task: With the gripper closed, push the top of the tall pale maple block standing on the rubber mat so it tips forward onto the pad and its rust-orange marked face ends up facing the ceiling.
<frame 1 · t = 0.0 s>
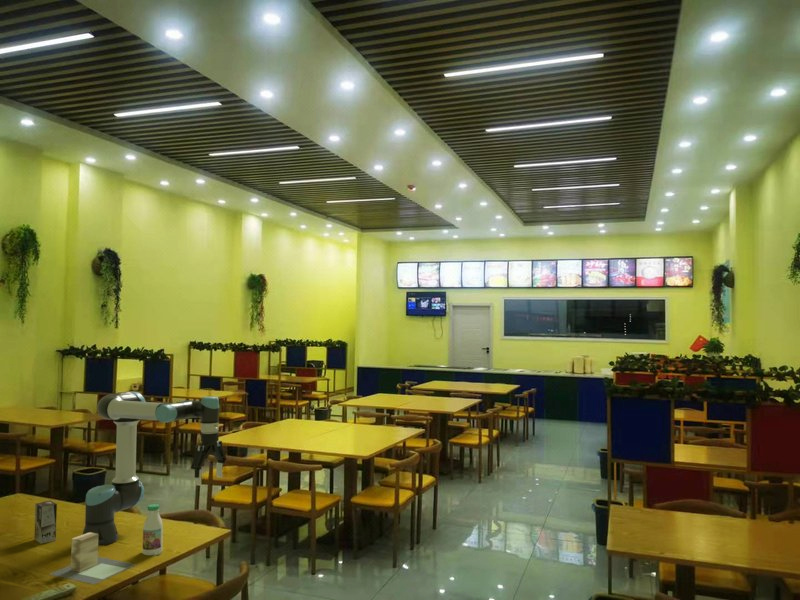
hand: (208, 481, 260), 28 cm above the table, tool pointing down, fingers open, 13 cm apart
milk bottle: (152, 554, 251), on the table
maple block: (84, 567, 234), point 1 cm above the table, touching topple mat
topple mat: (93, 571, 232), on the table
coffee box: (45, 540, 267), on the table
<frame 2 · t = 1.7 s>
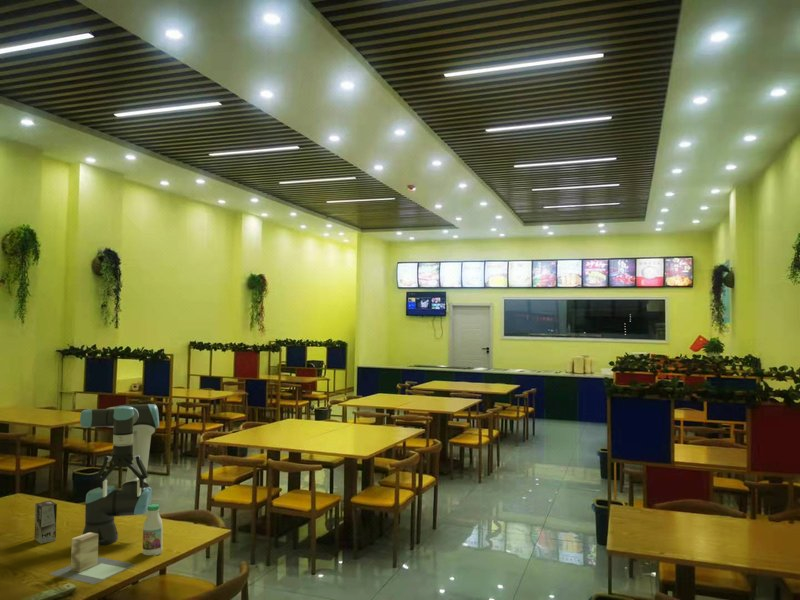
hand: (122, 496, 246), 25 cm above the table, tool pointing down, fingers open, 13 cm apart
nothing on the table moved.
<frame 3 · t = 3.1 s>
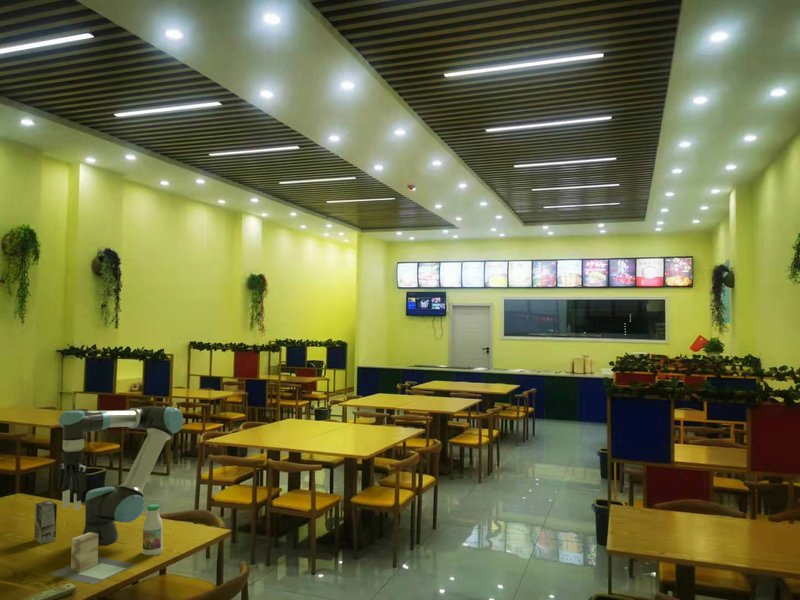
hand: (71, 508, 239), 23 cm above the table, tool pointing down, fingers open, 6 cm apart
nothing on the table moved.
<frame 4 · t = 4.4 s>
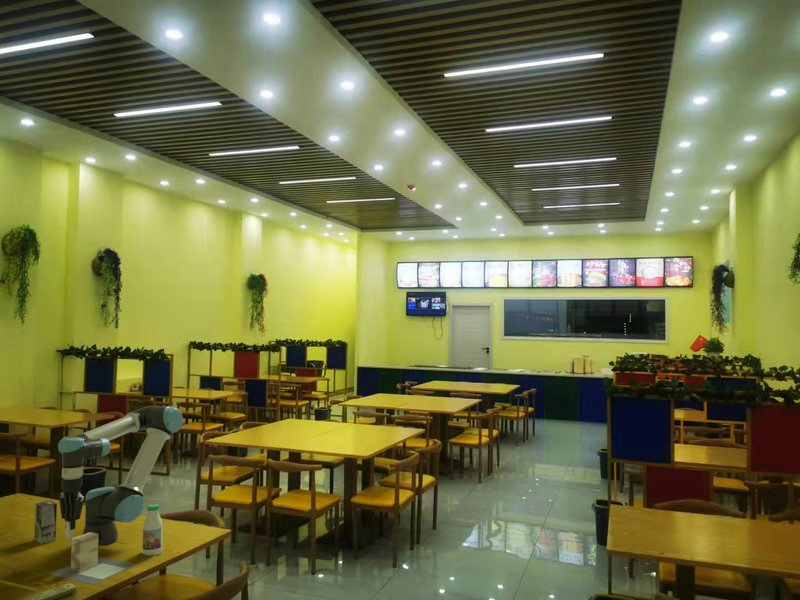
hand: (70, 537, 238), 11 cm above the table, tool pointing down, fingers closed
nothing on the table moved.
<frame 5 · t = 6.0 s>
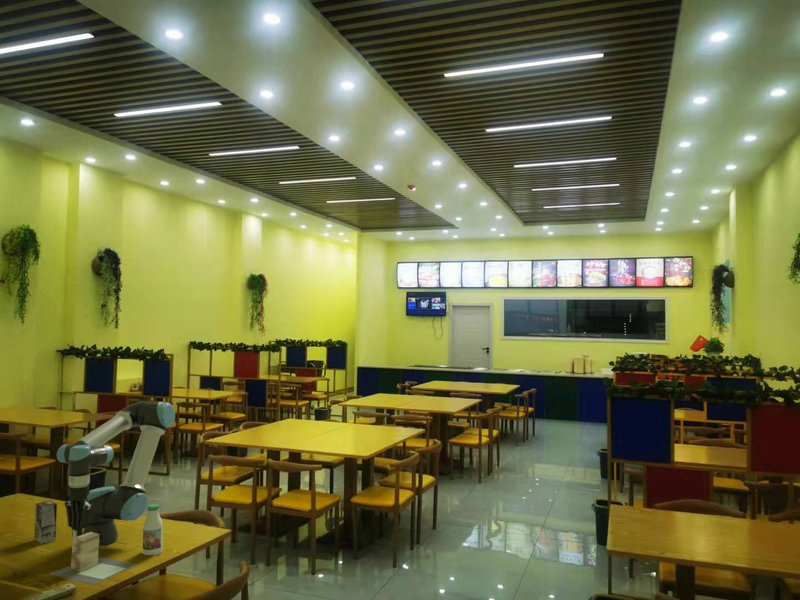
hand: (76, 545, 236), 9 cm above the table, tool pointing down, fingers closed
maple block: (84, 566, 234), point 1 cm above the table, touching gripper, topple mat
everything else where it was.
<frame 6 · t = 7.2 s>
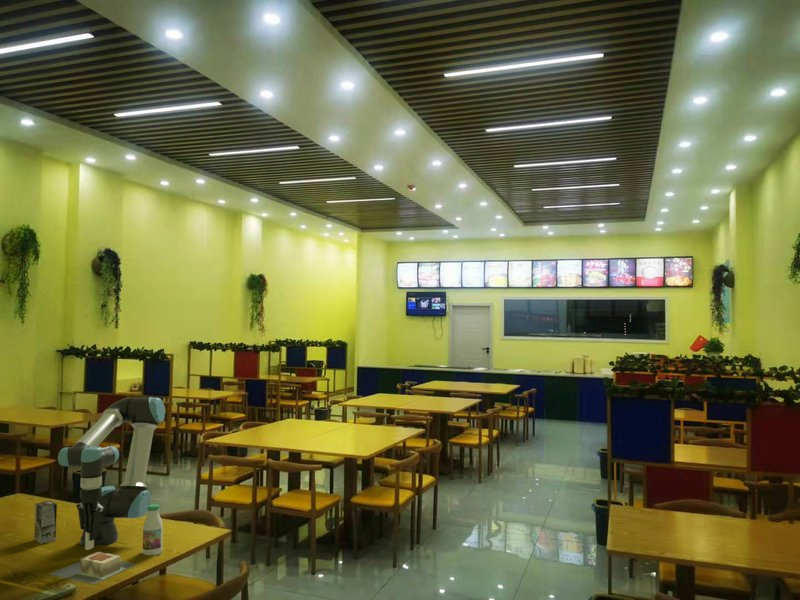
hand: (89, 548, 234), 9 cm above the table, tool pointing down, fingers closed
maple block: (89, 561, 234), point 3 cm above the table, tilted 90°, touching topple mat
everything else where it was.
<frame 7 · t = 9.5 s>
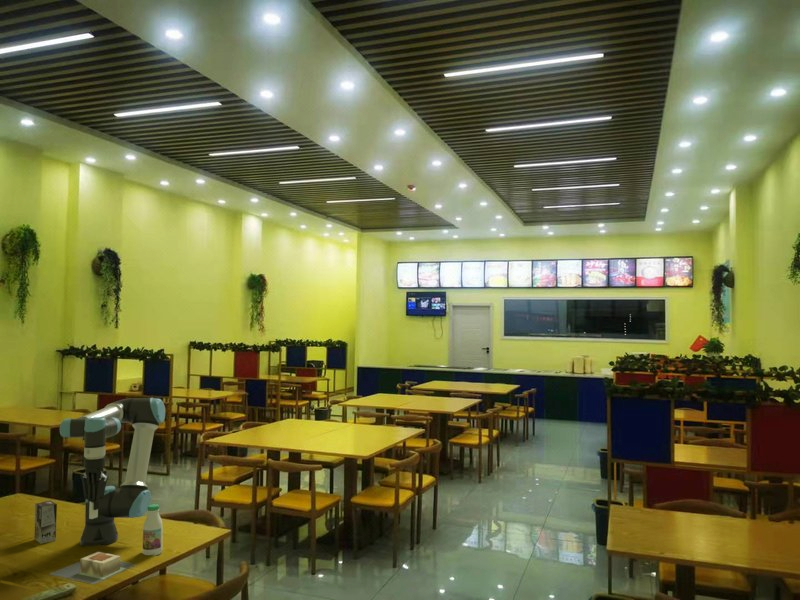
hand: (93, 517, 234), 20 cm above the table, tool pointing down, fingers closed
nothing on the table moved.
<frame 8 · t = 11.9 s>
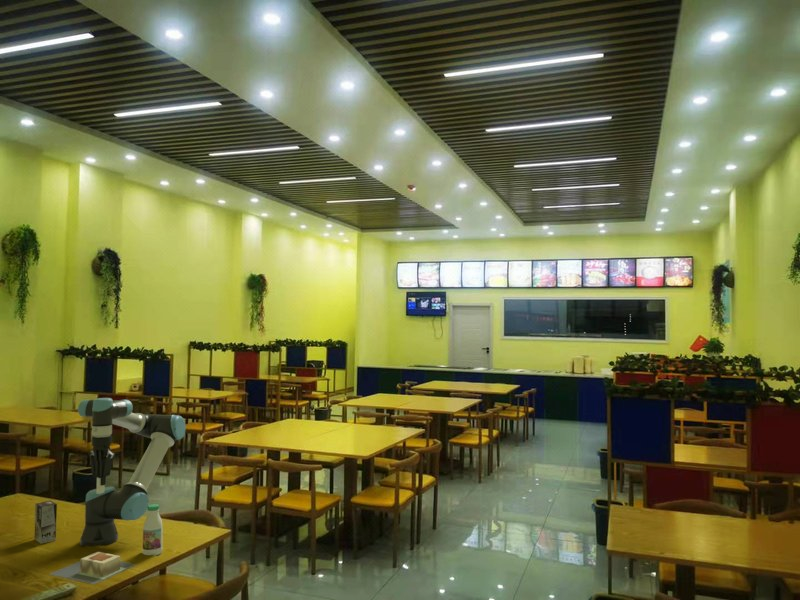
hand: (100, 492, 248), 26 cm above the table, tool pointing down, fingers closed
nothing on the table moved.
at the end: maple block tilted 90°; maple block inside the target area (1.0 cm from its centre), point 3.3 cm above the table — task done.
